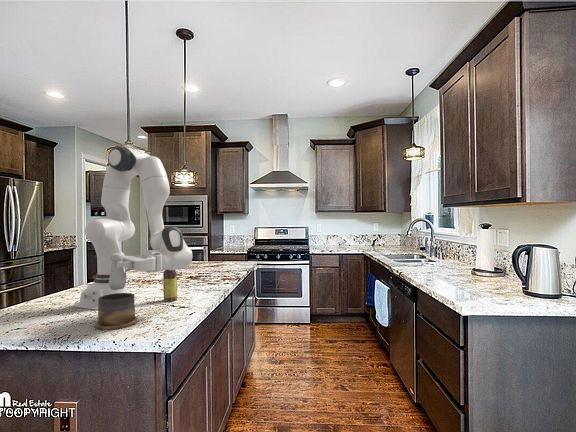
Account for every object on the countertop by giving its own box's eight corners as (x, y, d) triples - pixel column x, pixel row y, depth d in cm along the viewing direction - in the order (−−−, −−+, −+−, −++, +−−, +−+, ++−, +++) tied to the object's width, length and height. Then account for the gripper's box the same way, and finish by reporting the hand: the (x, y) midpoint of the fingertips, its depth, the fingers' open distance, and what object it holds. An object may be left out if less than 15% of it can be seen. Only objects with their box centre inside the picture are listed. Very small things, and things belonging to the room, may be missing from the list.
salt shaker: (113, 287, 124) (111, 252, 124) (129, 286, 125) (127, 252, 124) (106, 290, 118) (104, 254, 118) (122, 290, 119) (120, 254, 118)
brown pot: (85, 328, 115) (85, 300, 116) (113, 317, 129) (113, 291, 129) (120, 331, 113) (120, 301, 113) (145, 319, 126) (145, 293, 126)
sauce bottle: (179, 300, 156) (179, 258, 156) (167, 302, 152) (167, 259, 152) (173, 298, 161) (173, 257, 161) (160, 300, 156) (160, 258, 156)
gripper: (142, 251, 138) (106, 253, 128) (162, 255, 123) (123, 258, 113) (142, 266, 138) (106, 270, 128) (162, 272, 123) (123, 276, 113)
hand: (114, 264), depth 121 cm, fingers closed on salt shaker, 3 cm apart
